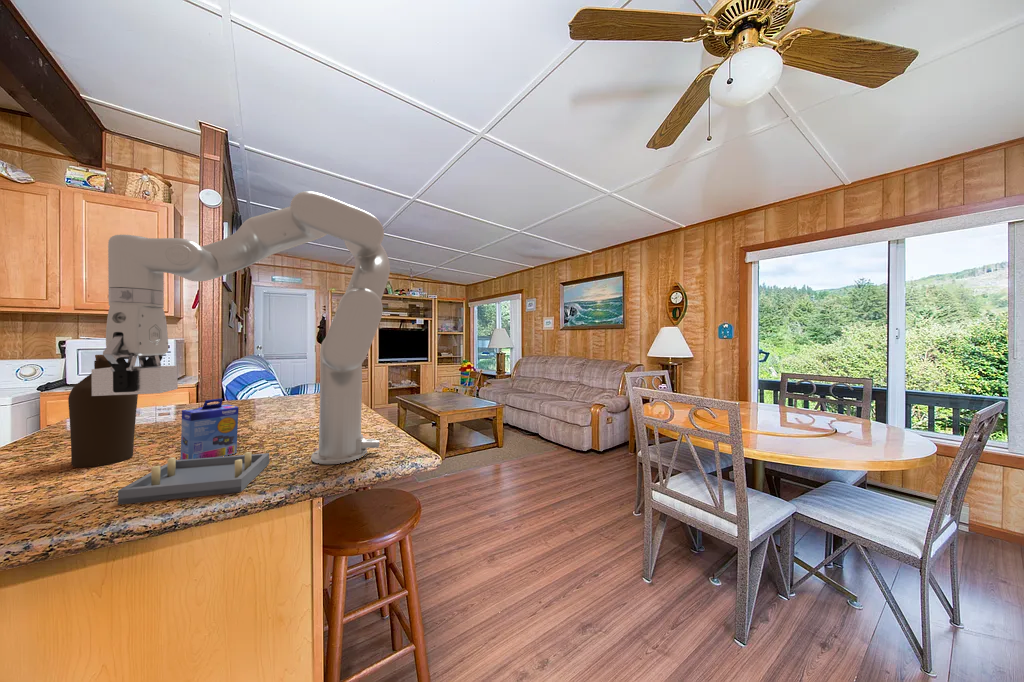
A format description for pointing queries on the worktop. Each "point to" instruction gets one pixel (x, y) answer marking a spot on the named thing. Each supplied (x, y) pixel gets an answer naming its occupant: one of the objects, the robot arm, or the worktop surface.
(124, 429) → the olive oil
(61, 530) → the worktop surface
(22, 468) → the worktop surface
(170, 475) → the pin tray
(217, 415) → the ink cartridge box
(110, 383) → the grey rectangular block
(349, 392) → the robot arm
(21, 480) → the worktop surface
